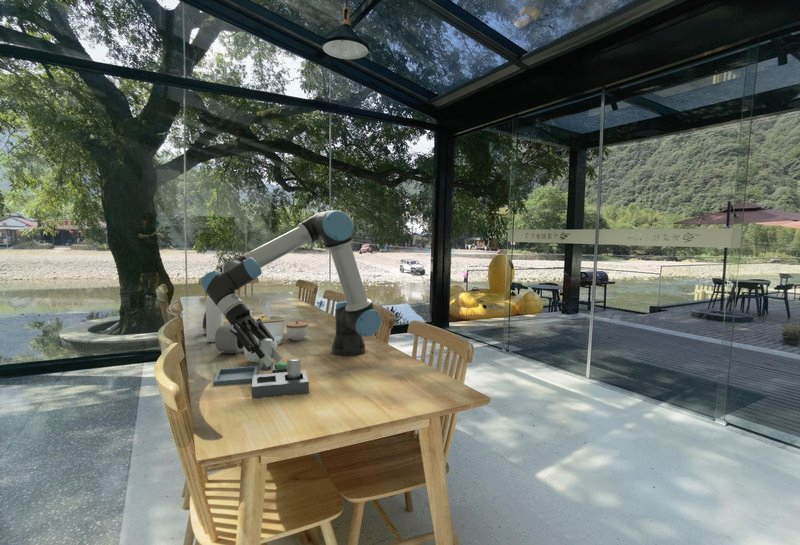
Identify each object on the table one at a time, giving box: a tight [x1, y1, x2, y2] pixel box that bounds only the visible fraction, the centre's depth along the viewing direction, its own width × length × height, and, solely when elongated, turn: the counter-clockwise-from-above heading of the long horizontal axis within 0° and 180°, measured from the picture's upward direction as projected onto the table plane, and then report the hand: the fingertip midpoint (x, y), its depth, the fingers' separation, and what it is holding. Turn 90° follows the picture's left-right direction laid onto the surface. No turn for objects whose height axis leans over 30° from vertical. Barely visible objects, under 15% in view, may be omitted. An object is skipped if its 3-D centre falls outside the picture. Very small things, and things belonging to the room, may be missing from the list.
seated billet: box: [286, 358, 301, 381], centre depth 144 cm, size 4×4×10 cm
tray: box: [213, 365, 258, 387], centre depth 153 cm, size 14×14×2 cm
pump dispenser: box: [201, 310, 207, 334], centre depth 222 cm, size 10×10×15 cm
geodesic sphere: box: [243, 332, 278, 364], centre depth 173 cm, size 14×14×14 cm
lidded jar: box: [285, 319, 309, 341], centre depth 213 cm, size 11×11×9 cm
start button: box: [275, 361, 287, 369], centre depth 156 cm, size 4×4×3 cm
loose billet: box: [258, 338, 274, 372], centre depth 141 cm, size 4×4×10 cm
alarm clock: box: [214, 322, 255, 355], centre depth 191 cm, size 21×10×13 cm, turn 170°
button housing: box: [271, 363, 287, 373], centre depth 156 cm, size 7×7×4 cm
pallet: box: [251, 370, 310, 400], centre depth 143 cm, size 18×12×4 cm, turn 107°
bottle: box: [205, 296, 224, 343], centre depth 206 cm, size 8×8×30 cm
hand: (275, 362), depth 140 cm, fingers closed on loose billet, 4 cm apart
